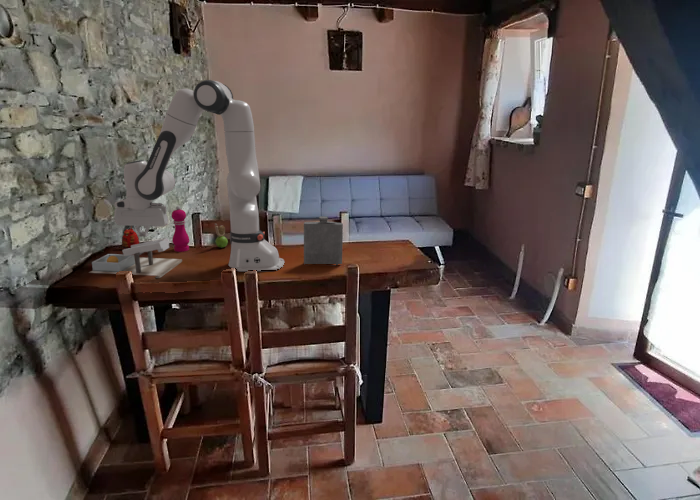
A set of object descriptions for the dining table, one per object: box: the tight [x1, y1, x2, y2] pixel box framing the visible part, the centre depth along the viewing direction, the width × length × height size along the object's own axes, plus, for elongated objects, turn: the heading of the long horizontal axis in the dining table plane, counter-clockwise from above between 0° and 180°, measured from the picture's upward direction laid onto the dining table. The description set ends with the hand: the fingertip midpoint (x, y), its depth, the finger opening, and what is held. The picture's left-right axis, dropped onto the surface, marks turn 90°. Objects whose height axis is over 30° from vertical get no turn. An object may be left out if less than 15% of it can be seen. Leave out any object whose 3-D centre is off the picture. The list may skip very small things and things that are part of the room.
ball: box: [107, 256, 118, 263], centre depth 172 cm, size 4×4×4 cm
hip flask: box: [303, 215, 344, 266], centre depth 184 cm, size 16×4×20 cm, turn 90°
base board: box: [88, 251, 183, 279], centre depth 174 cm, size 27×20×8 cm
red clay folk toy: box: [121, 226, 140, 250], centre depth 197 cm, size 8×7×15 cm
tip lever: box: [121, 237, 170, 256], centre depth 174 cm, size 16×17×4 cm
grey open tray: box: [91, 253, 135, 272], centre depth 172 cm, size 11×11×4 cm
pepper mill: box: [171, 205, 190, 253], centre depth 197 cm, size 7×7×20 cm
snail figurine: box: [214, 223, 229, 249], centre depth 203 cm, size 5×6×12 cm
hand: (143, 236), depth 179 cm, fingers closed
